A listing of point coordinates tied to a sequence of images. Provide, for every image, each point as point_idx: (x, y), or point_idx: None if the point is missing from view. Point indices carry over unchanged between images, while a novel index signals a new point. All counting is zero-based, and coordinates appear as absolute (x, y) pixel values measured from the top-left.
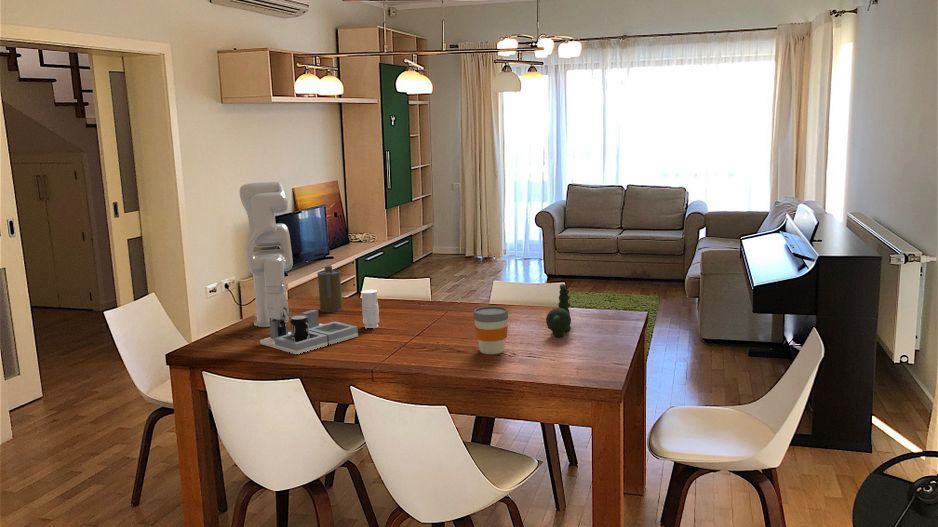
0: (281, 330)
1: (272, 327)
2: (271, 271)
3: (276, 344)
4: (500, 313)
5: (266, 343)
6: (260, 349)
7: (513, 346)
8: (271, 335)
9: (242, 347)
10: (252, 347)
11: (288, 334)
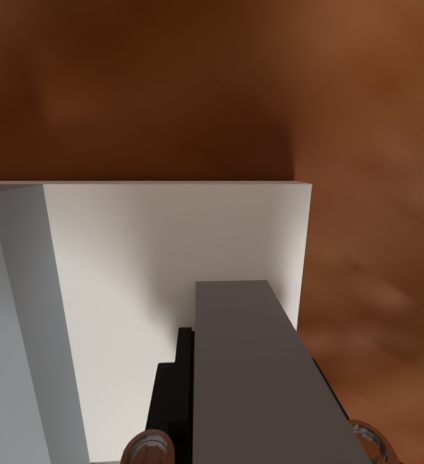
0: (154, 394)
1: (248, 365)
2: None
3: (8, 185)
4: None
5: (198, 182)
6: (156, 82)
7: None
8: (261, 294)
9: (368, 9)
10: (279, 75)
11: (20, 377)
